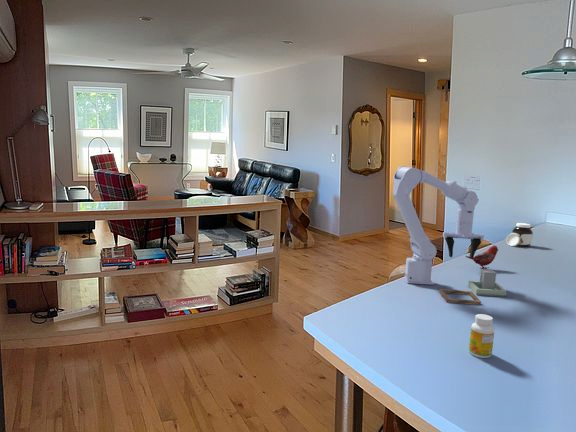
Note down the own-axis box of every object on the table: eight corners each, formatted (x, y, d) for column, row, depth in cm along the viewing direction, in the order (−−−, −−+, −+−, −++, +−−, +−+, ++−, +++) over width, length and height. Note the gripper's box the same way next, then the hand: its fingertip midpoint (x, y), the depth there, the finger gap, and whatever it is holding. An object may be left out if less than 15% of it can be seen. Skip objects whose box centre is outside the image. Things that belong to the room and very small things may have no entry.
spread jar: (532, 245, 254) (534, 224, 252) (529, 249, 244) (532, 227, 243) (507, 242, 260) (510, 221, 258) (504, 245, 251) (507, 224, 249)
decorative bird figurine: (499, 269, 202) (501, 246, 201) (466, 271, 196) (468, 248, 194) (493, 267, 205) (496, 244, 203) (461, 269, 198) (463, 246, 197)
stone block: (482, 291, 168) (484, 272, 167) (479, 287, 172) (481, 269, 171) (494, 292, 168) (496, 273, 167) (490, 288, 172) (492, 270, 171)
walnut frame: (446, 302, 157) (446, 299, 156) (439, 291, 167) (439, 289, 167) (480, 304, 156) (481, 301, 155) (471, 294, 166) (471, 291, 166)
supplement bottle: (464, 348, 121) (468, 312, 120) (484, 349, 122) (489, 312, 120) (474, 358, 116) (478, 320, 114) (495, 358, 116) (500, 321, 115)
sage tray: (476, 294, 166) (476, 289, 165) (468, 286, 176) (468, 280, 175) (505, 296, 165) (506, 291, 165) (496, 288, 175) (496, 282, 174)
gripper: (447, 222, 175) (443, 258, 177) (487, 224, 173) (483, 261, 176) (442, 219, 182) (439, 254, 184) (482, 221, 180) (478, 256, 183)
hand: (460, 257), depth 180 cm, fingers open, 7 cm apart
